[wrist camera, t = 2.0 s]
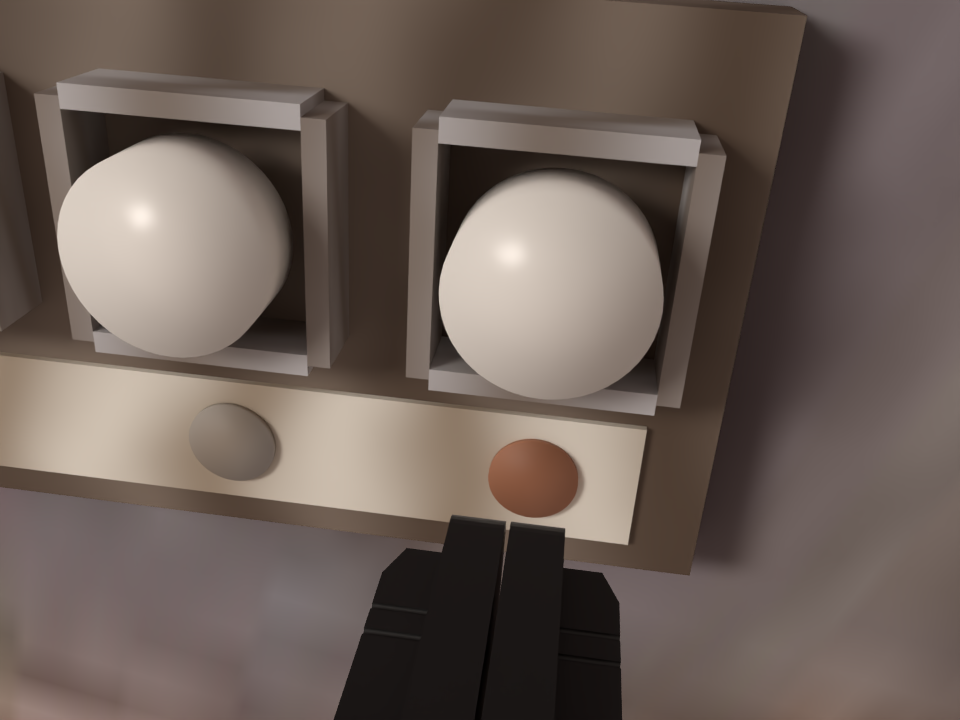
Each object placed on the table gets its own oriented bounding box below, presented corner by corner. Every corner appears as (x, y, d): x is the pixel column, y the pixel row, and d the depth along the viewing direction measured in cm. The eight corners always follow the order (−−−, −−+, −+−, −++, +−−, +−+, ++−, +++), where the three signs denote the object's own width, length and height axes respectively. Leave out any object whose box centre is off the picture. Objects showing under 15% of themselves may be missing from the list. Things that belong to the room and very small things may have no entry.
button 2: (674, 178, 21) (680, 203, 19) (643, 372, 23) (646, 411, 21) (457, 158, 21) (443, 181, 19) (447, 350, 24) (434, 386, 22)
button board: (791, 6, 22) (826, 26, 19) (684, 534, 29) (695, 621, 26) (-272, -75, 25) (-420, -71, 21) (-128, 433, 32) (-220, 500, 28)
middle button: (289, 142, 22) (261, 164, 20) (296, 333, 24) (271, 368, 22) (87, 123, 22) (41, 143, 20) (112, 313, 24) (73, 345, 22)
